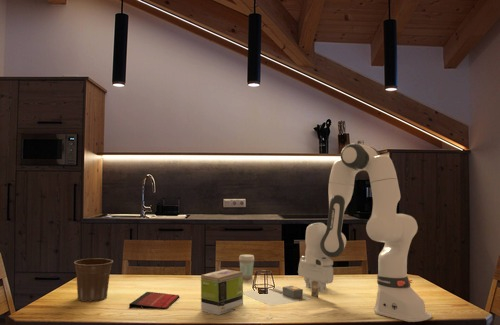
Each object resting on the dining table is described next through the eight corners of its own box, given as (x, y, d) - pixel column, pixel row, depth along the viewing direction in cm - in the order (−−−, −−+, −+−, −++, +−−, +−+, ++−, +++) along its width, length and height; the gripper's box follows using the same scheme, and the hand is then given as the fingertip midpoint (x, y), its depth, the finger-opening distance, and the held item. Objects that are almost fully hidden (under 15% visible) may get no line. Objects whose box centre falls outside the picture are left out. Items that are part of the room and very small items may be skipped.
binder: (129, 303, 187) (146, 291, 208) (128, 309, 187) (146, 296, 208) (167, 306, 185) (180, 294, 206) (167, 312, 185) (180, 299, 206)
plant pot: (119, 295, 207) (120, 259, 207) (98, 304, 191) (99, 265, 192) (88, 292, 211) (88, 257, 212) (65, 301, 196) (65, 263, 196)
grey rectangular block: (302, 297, 200) (302, 288, 200) (293, 298, 198) (293, 290, 198) (291, 293, 207) (291, 285, 207) (282, 294, 204) (282, 286, 205)
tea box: (225, 303, 195) (225, 268, 196) (243, 307, 189) (243, 271, 189) (200, 311, 183) (200, 273, 184) (218, 316, 177) (218, 277, 178)
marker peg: (319, 297, 206) (319, 282, 206) (314, 298, 204) (314, 282, 204) (315, 296, 208) (315, 280, 209) (310, 297, 207) (310, 281, 207)
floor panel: (312, 302, 198) (313, 298, 198) (270, 309, 186) (270, 305, 187) (278, 289, 220) (278, 286, 220) (238, 295, 209) (238, 292, 209)
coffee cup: (236, 276, 249) (236, 254, 249) (251, 276, 251) (251, 253, 252) (241, 280, 241) (241, 257, 241) (256, 279, 243) (256, 256, 244)
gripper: (295, 255, 214) (294, 285, 214) (325, 263, 197) (324, 295, 197) (305, 254, 218) (305, 284, 217) (335, 261, 201) (335, 293, 200)
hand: (314, 289), depth 207 cm, fingers open, 7 cm apart
